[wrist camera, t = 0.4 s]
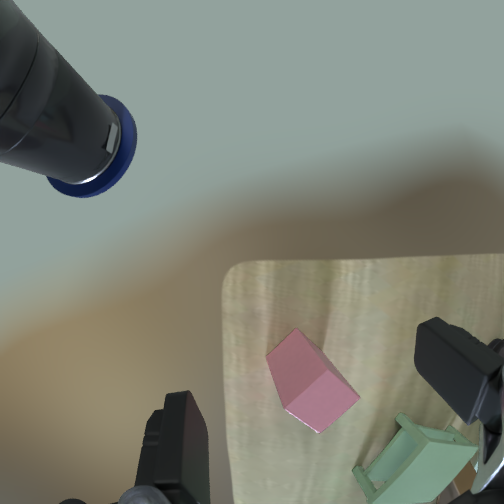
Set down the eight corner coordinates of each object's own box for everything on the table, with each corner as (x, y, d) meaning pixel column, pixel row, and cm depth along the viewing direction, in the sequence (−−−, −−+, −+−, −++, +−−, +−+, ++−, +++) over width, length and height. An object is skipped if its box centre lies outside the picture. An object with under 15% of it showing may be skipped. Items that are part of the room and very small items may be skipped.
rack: (349, 471, 32) (369, 506, 24) (399, 410, 32) (429, 441, 24) (411, 476, 34) (431, 501, 26) (453, 425, 34) (479, 447, 26)
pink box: (265, 356, 29) (283, 408, 20) (296, 327, 30) (328, 368, 20) (293, 380, 30) (319, 434, 20) (323, 352, 30) (361, 397, 20)
